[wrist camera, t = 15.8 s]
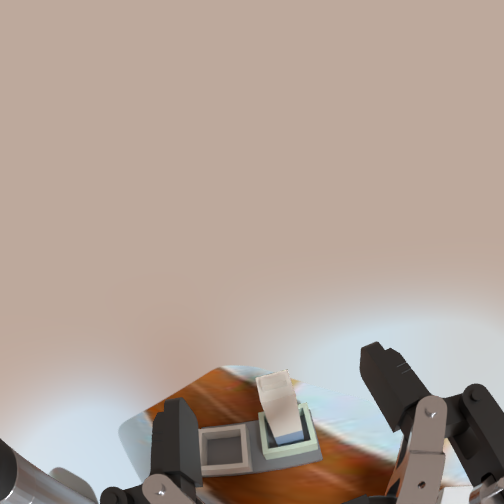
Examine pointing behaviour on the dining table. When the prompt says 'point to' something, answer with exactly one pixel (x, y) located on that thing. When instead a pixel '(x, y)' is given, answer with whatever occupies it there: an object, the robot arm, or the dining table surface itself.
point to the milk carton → (280, 407)
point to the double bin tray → (255, 447)
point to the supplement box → (454, 495)
